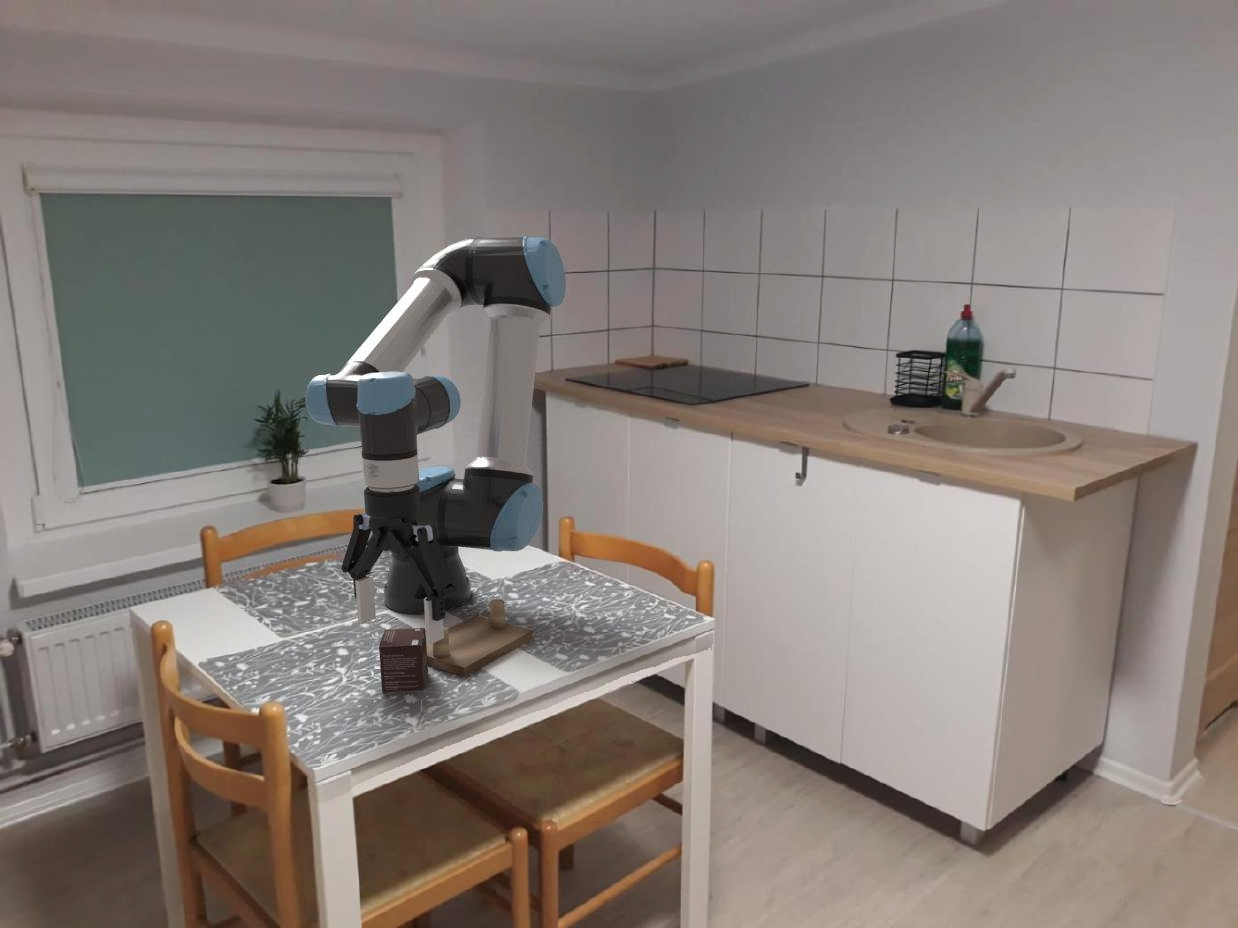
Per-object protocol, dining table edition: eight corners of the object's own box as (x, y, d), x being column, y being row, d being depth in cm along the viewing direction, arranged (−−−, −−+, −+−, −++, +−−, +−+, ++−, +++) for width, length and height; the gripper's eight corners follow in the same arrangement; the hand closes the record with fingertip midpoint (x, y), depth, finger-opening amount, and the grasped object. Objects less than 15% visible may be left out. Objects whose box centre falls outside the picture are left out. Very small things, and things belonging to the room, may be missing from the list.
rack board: (406, 658, 150) (403, 624, 149) (476, 623, 163) (474, 592, 162) (464, 676, 144) (463, 642, 142) (533, 638, 156) (532, 606, 155)
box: (387, 675, 145) (384, 628, 143) (429, 673, 145) (426, 626, 143) (381, 694, 139) (377, 646, 137) (424, 692, 139) (421, 644, 138)
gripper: (309, 479, 139) (320, 621, 143) (438, 504, 125) (446, 659, 130) (350, 469, 145) (360, 605, 149) (478, 491, 131) (484, 640, 136)
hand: (400, 630), depth 140 cm, fingers open, 13 cm apart
